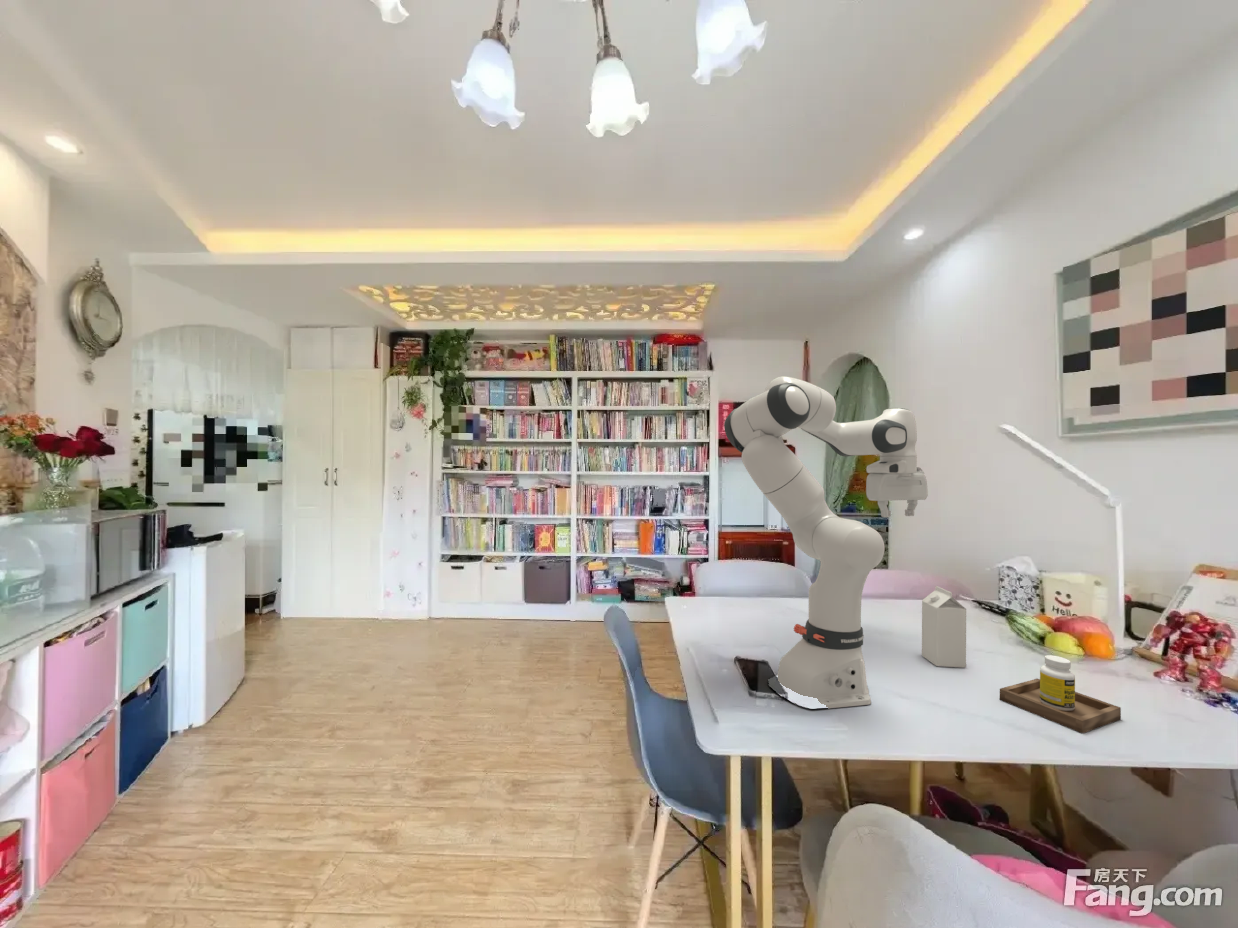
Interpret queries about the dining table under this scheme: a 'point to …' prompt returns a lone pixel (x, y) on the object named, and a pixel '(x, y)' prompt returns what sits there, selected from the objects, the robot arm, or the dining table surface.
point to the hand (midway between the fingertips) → (897, 516)
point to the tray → (1080, 719)
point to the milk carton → (943, 629)
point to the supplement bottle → (1057, 683)
